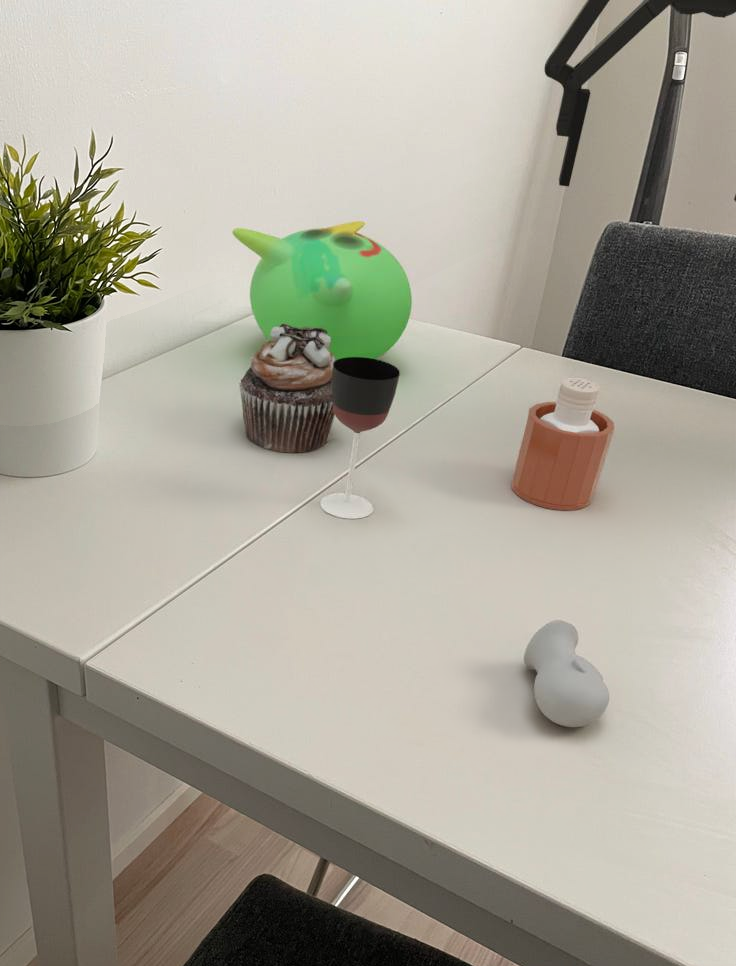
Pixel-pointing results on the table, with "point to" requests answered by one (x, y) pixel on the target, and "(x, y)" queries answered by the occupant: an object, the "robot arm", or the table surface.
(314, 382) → the cupcake
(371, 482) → the table surface
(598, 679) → the smooth white sculpture
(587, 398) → the pepper shaker
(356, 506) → the wineglass
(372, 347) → the toy bird
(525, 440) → the flowerpot
